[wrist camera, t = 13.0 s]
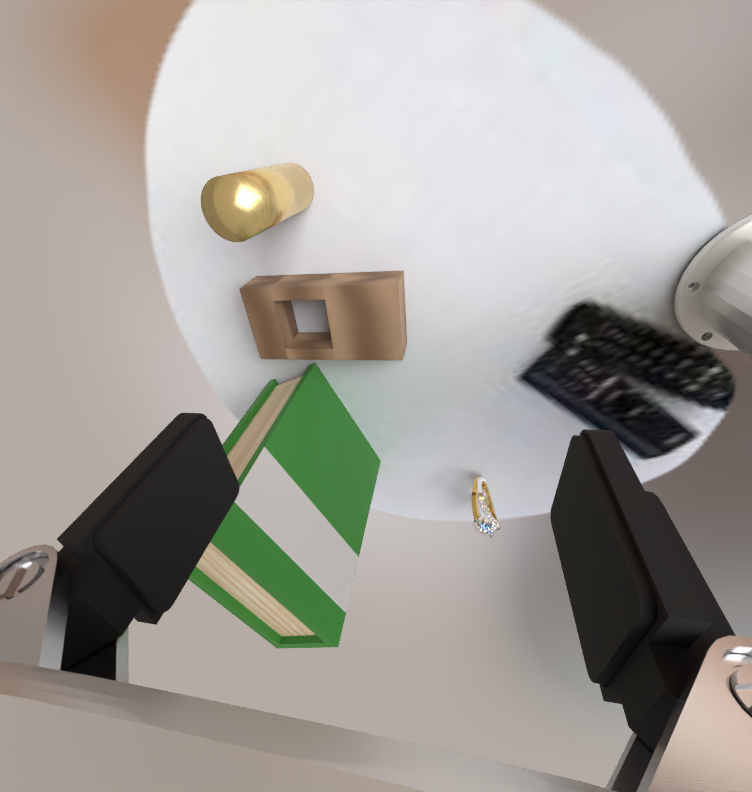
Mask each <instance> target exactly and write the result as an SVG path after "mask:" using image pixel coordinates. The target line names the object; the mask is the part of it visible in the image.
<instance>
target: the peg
mask: <svg viewBox="0 0 752 792" xmlns="http://www.w3.org/2000/svg"><path fill="white" fill-rule="evenodd" d="M313 195H314V187H313V182H312V180H311V177H310V176H309V174H308V173H307V171H306V170H305V169H304V168H303V167H301V166H300V165H298V164H295V163H285V164H279V165H274V166H269V167H264V168H259V169H253V170H248V171H243V172H238V173H233V174H227V175H222V176H217V177H214V178H212V179H210V180H209V181H208V182H207V183H206V184H205V186H204V188H203V190H202V194H201V207H202V211H203V214H204V217H205V219H206V221H207V222H208V224H209V225H210V227H211V228H212V229H213V230H214V231H215V232H216V233H217V234H218V235H219V236H221V237H222V238H224V239H226V240H228V241H232V242H242V241H245V240H247V239H249V238H251V237H253V236H255V235H257V234H259V233H261V232H263V231H265V230H266V229H268V228H270V227H272V226H274V225H276V224H278V223H280V222H282V221H284V220H286V219H288V218H289V217H291V216H293V215H295V214H297V213H299V212H301V211H303V210H305V209H306V208H307V207H308V206H309V205H310V204H311V202H312V199H313Z"/></svg>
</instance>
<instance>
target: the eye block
mask: <svg viewBox="0 0 752 792" xmlns="http://www.w3.org/2000/svg"><path fill="white" fill-rule="evenodd" d="M240 292H241V295H242V299H243V302H244V305H245V309H246V312H247V315H248V318H249V322H250V325H251V328H252V331H253V335H254V338H255V341H256V344H257V348H258V351H259V354H260V358H261V359H311V360H403V357H404V353H405V348H406V344H407V336H406V314H405V292H404V271H385V272H359V273H332V274H306V275H280V276H257V277H255V278H254V279H253V280H251V281H250V282H248V283H247V284H246V285H244V286H243V287H242V288H240ZM291 300H325V304H326V309H327V315H328V321H329V327H330V332H325V333H298V329H297V325H296V320H295V316H294V312H293V307H292V303H291Z"/></svg>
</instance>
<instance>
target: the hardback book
mask: <svg viewBox="0 0 752 792" xmlns="http://www.w3.org/2000/svg"><path fill="white" fill-rule="evenodd" d="M222 446H223V448H224V451H225V453H226V455H227V457H228V460H229V462H230V464H231V466H232V469H233V471H234V473H235V475H236V478H237V480H238V482H239V487H240V489H239V494H238V496H237V498H236V500H235V501H234V503H233V505H232V506H231V508H230V510H229V511H228V513H227V515H226V516H225V518H224V520H223V521H222V523H221V525H220V526H219V528H218V530H217V532H216V533H215V535H214V537H213V538H212V540H211V542H210V543H209V545H208V547H207V548H206V550H205V552H204V553H203V555H202V557H201V558H200V560H199V562H198V563H197V565H196V567H195V568H194V570H193V572H192V573H191V575H190V577H189V578H188V579H189V580H190V581H191V582H193V583H194V584H195V585H196V586H198V587H199V588H200V589H202V590H203V591H204V592H205V593H207V594H208V595H209V596H210V597H212V598H213V599H214V600H216V601H217V602H218V603H219V604H221V605H222V606H223V607H225V608H226V609H227V610H229V611H230V612H231V613H232V614H234V615H235V616H236V617H238V618H239V619H240V620H241V621H243V622H244V623H245V624H246V625H248V626H249V627H250V628H252V629H253V630H254V631H255V632H257V633H258V634H259V635H261V636H262V637H263V638H265V639H266V640H267V641H268V642H270V643H271V644H272V645H274V646H275V647H276V648H312V647H313V648H315V647H338V645H339V641H340V636H341V632H342V628H343V623H344V619H345V615H346V610H347V606H348V601H349V597H350V593H351V588H352V584H353V579H354V575H355V571H356V566H357V562H358V557H359V553H360V549H361V544H362V540H363V535H364V531H365V527H366V522H367V518H368V514H369V509H370V505H371V500H372V496H373V492H374V487H375V483H376V479H377V474H378V470H379V465H380V459H379V458H378V456H377V455H376V453H375V452H374V450H373V449H372V447H371V446H370V444H369V443H368V441H367V440H366V438H365V437H364V435H363V434H362V432H361V431H360V429H359V428H358V426H357V425H356V423H355V422H354V420H353V419H352V417H351V416H350V414H349V413H348V411H347V410H346V408H345V407H344V405H343V404H342V402H341V401H340V399H339V398H338V396H337V395H336V393H335V392H334V390H333V389H332V387H331V386H330V384H329V383H328V381H327V380H326V378H325V377H324V375H323V374H322V372H321V371H320V369H319V368H318V366H317V365H316V363H313V364H311V365H309V366H308V368H307V369H306V371H305V373H304V374H303V375H302V376H300V377H297V378H295V379H292V380H290V381H287V382H285V383H282V384H280V385H279V384H278V382H277V381H276V380H275V379H274V380H271V381H269V383H268V384H267V385H266V387H265V388H264V389H263V391H262V392H261V394H260V395H259V396H258V398H257V399H256V400H255V402H254V403H253V404H252V406H251V407H250V408H249V410H248V411H247V412H246V414H245V415H244V416H243V418H242V419H241V420H240V422H239V423H238V425H237V426H236V427H235V429H234V430H233V431H232V433H231V434H230V435H229V437H228V438H227V440H226V441H225V442H224V444H223V445H222Z"/></svg>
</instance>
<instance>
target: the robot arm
mask: <svg viewBox="0 0 752 792" xmlns="http://www.w3.org/2000/svg"><path fill="white" fill-rule="evenodd" d="M690 284H691V285H690ZM674 307H675V315H676V318H677V321H678V323H679V325H680V326H681V328H682V329H683V331H685V332H686V333H687V334H688V335H689V336H690V337H691V338H692V339H694V340H695V341H697V342H698V343H700V344H702V345H705V346H707V347H710V348H714V349H720V350H729V351H731V350H732V351H738V350H739V351H742V352H743V353H744V354H746V355H747V356H748V357H750V358H751V359H752V214H751V215H749V216H747V217H745V218H743V219H741V220H739V221H737V222H735V223H734V224H732V225H731V226H729V227H728V228H726V229H725V230H723V231H722V232H720V233H719V234H718V235H717V236H715V237H714V238H713V239H712V240H711V241H710V242H709V243H707V244H706V245H705V246H704V247H703V248H702V249H701V250H700V252H699V253H698V254H697V255H696V256H695V257H694V258H693V260H692V261H691V262H690V264H689V265H688V267H687V268H686V270H685V272H684V273H683V275H682V277H681V280H680V282H679V284H678V286H677V290H676V295H675V299H674ZM239 489H240V487H239V482H238V480H237V478H236V475H235V473H234V471H233V469H232V466H231V464H230V462H229V460H228V457H227V455H226V453H225V451H224V448H223V446H222V444H221V442H220V440H219V437H218V435H217V433H216V431H215V428H214V426H213V424H212V422H211V421H210V420H209V419H207V417H206V416H205V415H204V414H200V413H198V414H197V413H181V414H179V415H178V416H177V417H176V418H175V419H174V420H173V421H172V422H171V423H170V424H169V425H168V426H167V427H166V428H165V429H164V430H163V431H162V432H161V433H160V434H159V435H158V436H157V437H156V438H155V439H154V440H153V441H152V442H151V443H150V444H149V445H148V446H147V447H146V448H145V449H144V450H143V451H142V452H141V453H140V454H139V455H138V456H137V457H136V459H135V460H134V461H133V462H132V463H131V464H130V465H129V466H128V467H127V468H126V469H125V470H124V471H123V472H122V473H121V474H120V475H119V476H118V477H117V478H116V479H115V480H114V481H113V482H112V483H111V484H110V485H109V486H108V487H107V488H106V489H105V490H104V491H103V492H102V493H101V494H100V495H99V496H98V497H97V498H96V499H95V500H94V501H93V503H92V504H91V505H90V506H89V507H88V508H87V509H86V510H85V511H84V512H83V513H82V514H81V515H80V516H79V517H78V518H77V519H76V520H75V521H74V522H73V523H72V524H71V525H70V526H69V527H68V528H67V529H66V530H65V531H64V532H63V533H62V534H61V535H60V536H59V537H58V538H57V540H58V541H59V542H60V543H61V544H62V545H63V546H64V547H63V548H62V549H61V550H60V551H59V552H58V551H57V550H56V549H55V548H54V547H52V546H48V545H37V546H33V547H30V548H27V549H24V550H22V551H20V552H18V553H16V554H14V555H12V556H10V557H9V558H7V559H6V560H4V561H3V562H1V563H0V792H752V638H749V637H745V636H736V635H735V634H734V632H733V630H732V628H731V626H730V625H729V623H728V621H727V619H726V617H725V616H724V614H723V612H722V610H721V609H720V607H719V605H718V603H717V601H716V599H715V598H714V596H713V594H712V592H711V590H710V589H709V587H708V585H707V584H706V581H705V580H704V578H703V576H702V574H701V572H700V571H699V569H698V567H697V565H696V563H695V561H694V560H693V558H692V556H691V554H690V552H689V551H688V549H687V547H686V545H685V544H684V542H683V540H682V538H681V536H680V534H679V533H678V531H677V529H676V527H675V525H674V524H673V522H672V520H671V518H670V517H669V515H668V513H667V511H666V509H665V507H664V505H663V504H662V502H661V501H660V499H659V498H658V497H657V496H656V495H655V494H654V493H652V492H647V491H644V489H643V487H642V485H641V483H640V481H639V479H638V477H637V475H636V473H635V471H634V470H633V468H632V466H631V464H630V462H629V460H628V458H627V456H626V454H625V452H624V450H623V449H622V447H621V445H620V443H619V441H618V439H617V437H616V435H615V434H614V432H612V431H608V430H582V432H581V433H580V436H577V435H574V436H573V437H572V438H571V441H570V445H569V448H568V452H567V455H566V459H565V462H564V466H563V469H562V473H561V476H560V480H559V483H558V487H557V490H556V494H555V497H554V501H553V504H552V508H551V524H552V528H553V532H554V536H555V540H556V545H557V549H558V553H559V557H560V561H561V565H562V569H563V573H564V578H565V581H566V586H567V590H568V594H569V598H570V602H571V606H572V610H573V614H574V618H575V622H576V626H577V631H578V635H579V639H580V643H581V647H582V651H583V656H584V659H585V663H586V668H587V672H588V675H589V677H590V679H591V681H592V682H594V683H598V684H600V688H601V692H602V696H603V700H604V701H607V702H613V703H619V704H622V705H623V709H624V712H625V715H626V719H627V722H628V725H629V728H631V730H632V731H633V733H632V735H631V737H630V739H629V741H628V743H627V745H626V747H625V749H624V752H623V753H622V755H621V758H620V759H619V762H618V764H617V766H616V768H615V770H614V772H613V774H612V776H611V778H610V780H609V782H608V784H607V786H606V788H602V787H599V786H595V785H592V784H588V783H585V782H581V781H577V780H573V779H569V778H564V777H560V776H556V775H552V774H547V773H543V772H538V771H535V770H530V769H526V768H522V767H517V766H513V765H508V764H505V763H501V762H496V761H492V760H488V759H484V758H479V757H475V756H470V755H465V754H460V753H456V752H451V751H447V750H442V749H437V748H433V747H428V746H423V745H419V744H414V743H409V742H404V741H400V740H396V739H391V738H386V737H382V736H377V735H372V734H368V733H363V732H358V731H353V730H349V729H344V728H339V727H335V726H330V725H325V724H321V723H316V722H311V721H306V720H302V719H297V718H292V717H287V716H283V715H278V714H273V713H268V712H264V711H259V710H254V709H249V708H245V707H240V706H235V705H230V704H225V703H220V702H216V701H211V700H206V699H202V698H197V697H191V696H187V695H182V694H177V693H172V692H168V691H163V690H158V689H153V688H148V687H143V686H138V685H133V684H128V626H129V624H130V623H131V621H132V620H133V618H135V619H136V620H137V621H139V622H144V623H150V624H157V623H158V621H159V619H160V618H161V616H162V614H163V613H164V612H166V611H167V610H169V609H170V608H171V606H172V605H173V603H174V602H175V600H176V599H177V597H178V595H179V593H180V592H181V590H182V588H183V587H184V585H185V583H186V582H187V580H188V578H189V577H190V575H191V573H192V572H193V570H194V568H195V567H196V565H197V563H198V562H199V560H200V558H201V557H202V555H203V553H204V552H205V550H206V548H207V547H208V545H209V543H210V542H211V540H212V538H213V537H214V535H215V533H216V532H217V530H218V528H219V526H220V525H221V523H222V521H223V520H224V518H225V516H226V515H227V513H228V511H229V510H230V508H231V506H232V505H233V503H234V501H235V500H236V498H237V496H238V494H239Z"/></svg>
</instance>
